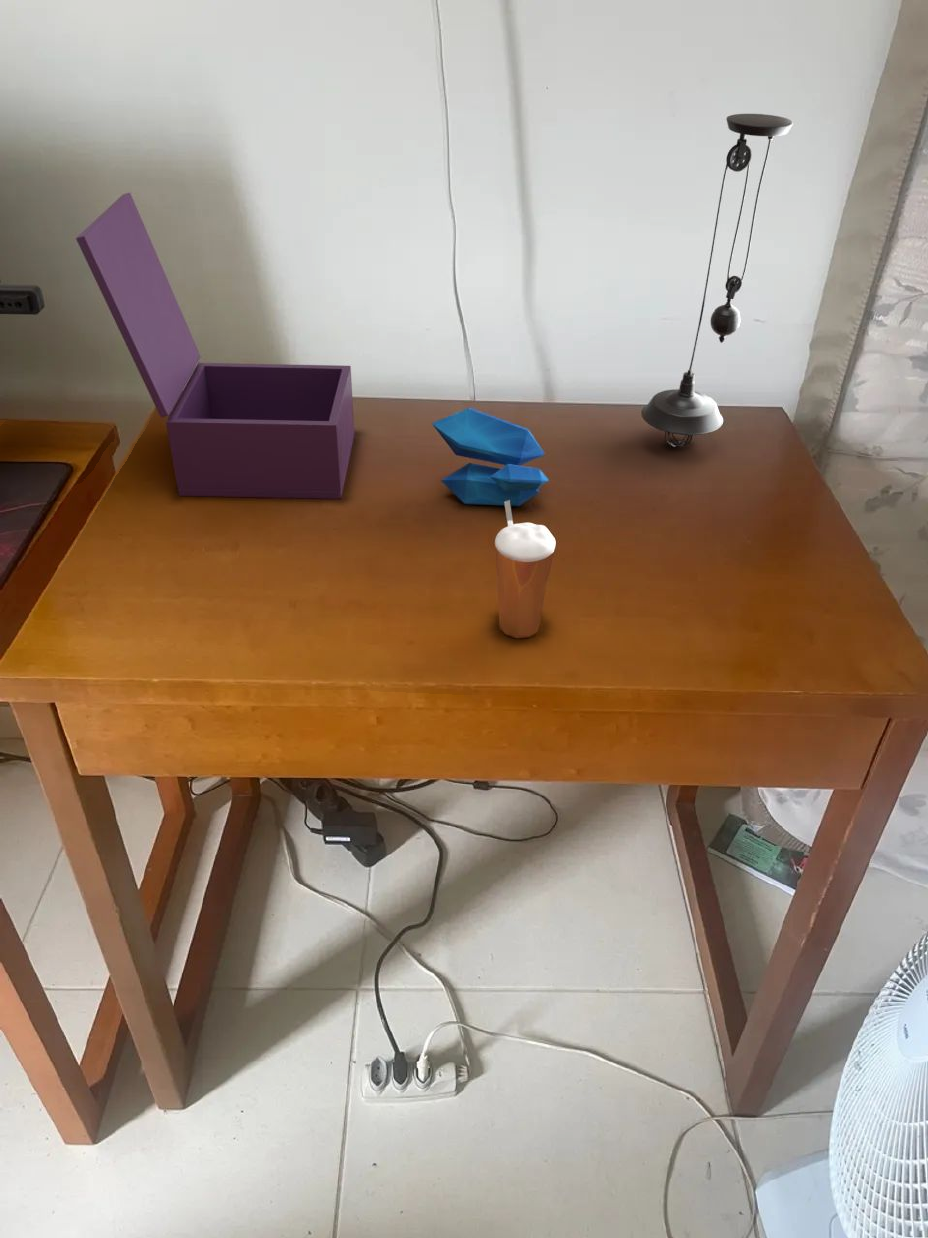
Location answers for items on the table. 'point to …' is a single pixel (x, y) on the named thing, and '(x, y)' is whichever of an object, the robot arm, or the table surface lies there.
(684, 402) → the light fixture
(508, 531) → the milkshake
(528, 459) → the gemstones
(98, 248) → the lid
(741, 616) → the table surface
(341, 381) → the box
